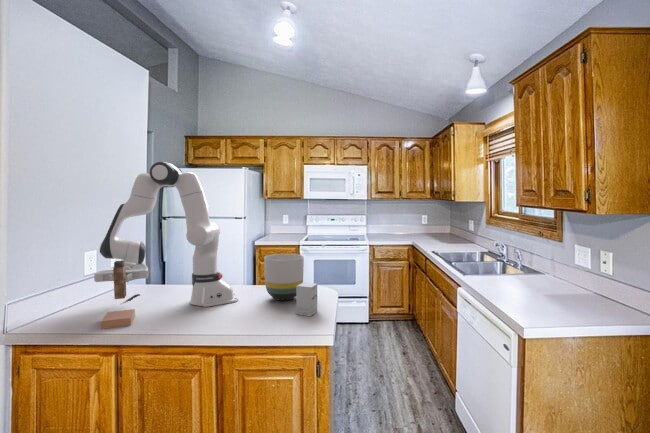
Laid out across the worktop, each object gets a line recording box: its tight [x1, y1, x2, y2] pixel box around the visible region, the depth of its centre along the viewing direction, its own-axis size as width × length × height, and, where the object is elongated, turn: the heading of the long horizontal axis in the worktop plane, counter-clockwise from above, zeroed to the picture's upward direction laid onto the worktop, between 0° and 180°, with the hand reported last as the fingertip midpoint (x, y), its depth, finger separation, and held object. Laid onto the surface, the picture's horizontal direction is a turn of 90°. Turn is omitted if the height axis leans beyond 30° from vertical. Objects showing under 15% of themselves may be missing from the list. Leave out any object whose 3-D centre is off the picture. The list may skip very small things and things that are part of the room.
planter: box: [263, 253, 305, 302], centre depth 172 cm, size 20×20×21 cm
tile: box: [100, 308, 136, 330], centre depth 140 cm, size 10×3×12 cm
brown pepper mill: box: [112, 260, 127, 300], centre depth 143 cm, size 4×5×15 cm
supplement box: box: [295, 282, 318, 317], centre depth 151 cm, size 7×7×13 cm
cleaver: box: [120, 293, 141, 305], centre depth 166 cm, size 29×1×10 cm
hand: (119, 278), depth 142 cm, fingers closed on brown pepper mill, 3 cm apart
